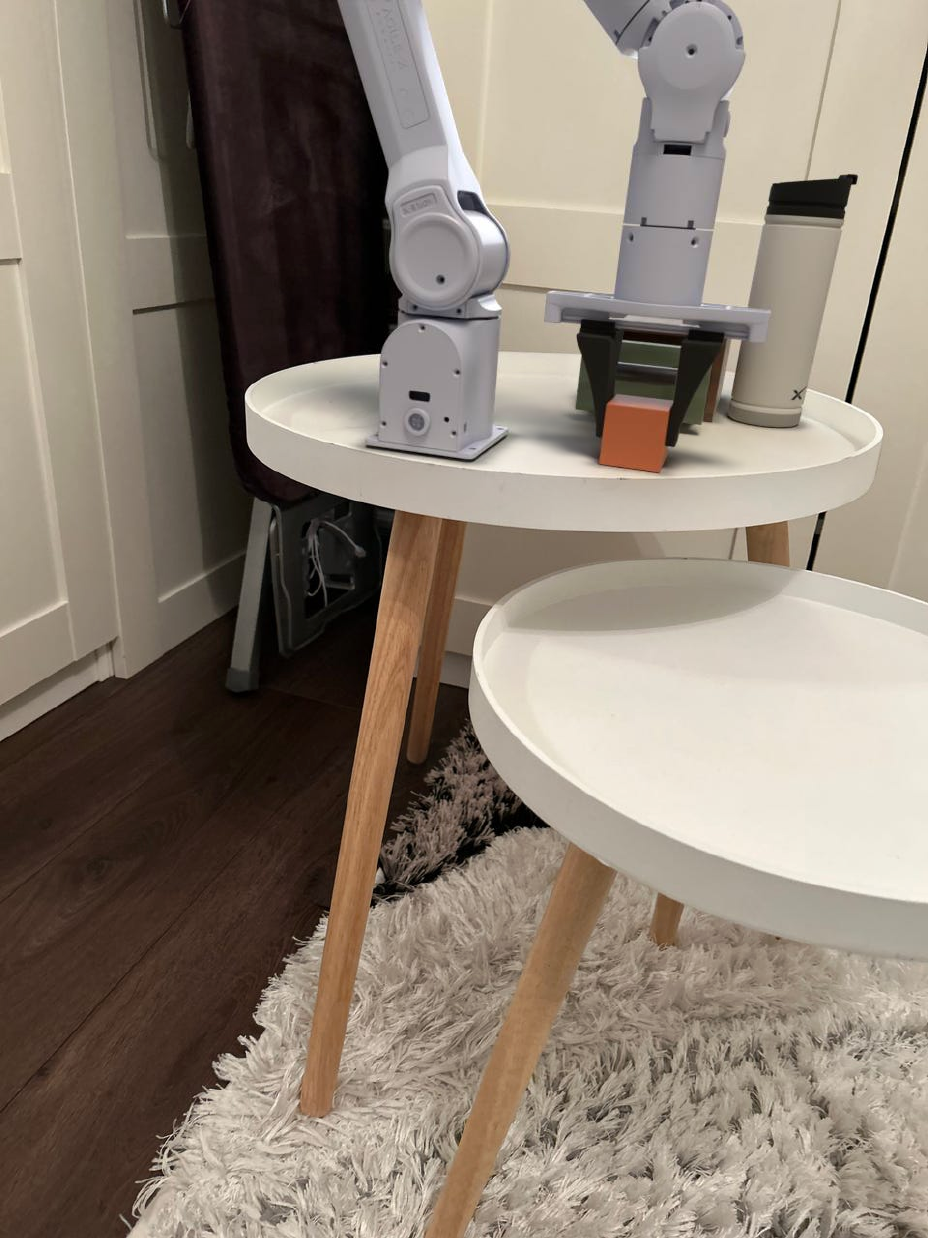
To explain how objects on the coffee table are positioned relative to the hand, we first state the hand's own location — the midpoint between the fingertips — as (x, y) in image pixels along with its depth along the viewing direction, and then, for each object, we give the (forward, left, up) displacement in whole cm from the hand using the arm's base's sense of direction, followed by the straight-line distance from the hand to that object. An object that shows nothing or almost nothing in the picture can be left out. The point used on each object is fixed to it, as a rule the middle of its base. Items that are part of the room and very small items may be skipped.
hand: (636, 439), depth 62 cm
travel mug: (+22, -9, -2) cm, 24 cm away
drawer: (+15, +1, -1) cm, 15 cm away
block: (0, 0, -2) cm, 2 cm away
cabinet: (+25, +2, -2) cm, 25 cm away
